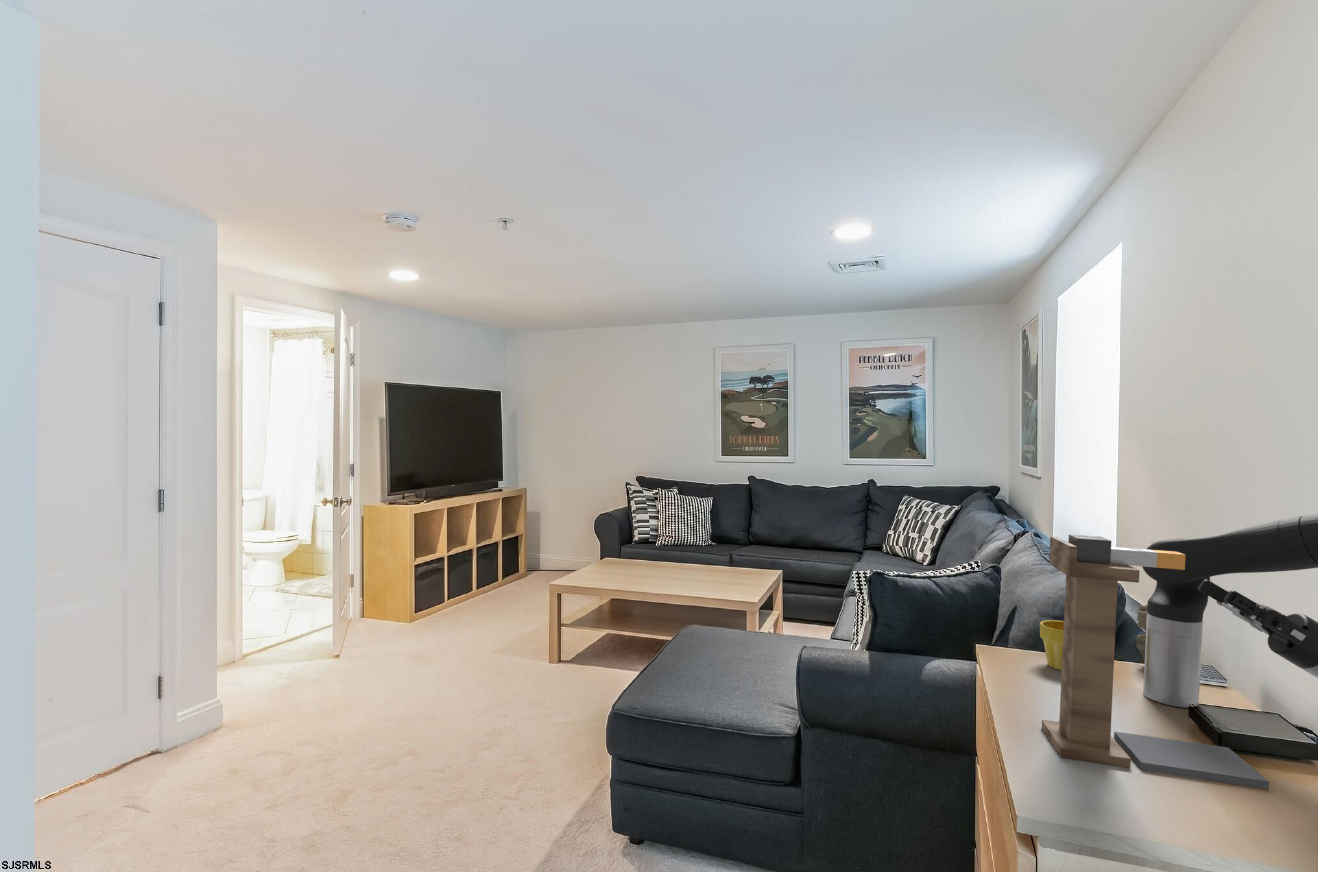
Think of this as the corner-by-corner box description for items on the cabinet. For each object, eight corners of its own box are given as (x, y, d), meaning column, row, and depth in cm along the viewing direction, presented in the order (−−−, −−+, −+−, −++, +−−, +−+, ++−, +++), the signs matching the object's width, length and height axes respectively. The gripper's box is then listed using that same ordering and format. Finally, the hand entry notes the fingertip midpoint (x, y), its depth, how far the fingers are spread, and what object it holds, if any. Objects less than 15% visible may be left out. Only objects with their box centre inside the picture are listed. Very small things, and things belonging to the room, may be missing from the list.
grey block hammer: (1067, 557, 120) (1068, 534, 120) (1173, 565, 116) (1174, 542, 116) (1076, 561, 115) (1077, 538, 115) (1187, 571, 111) (1188, 546, 111)
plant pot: (1031, 665, 159) (1033, 624, 159) (1046, 657, 166) (1048, 617, 166) (1081, 679, 151) (1083, 635, 151) (1095, 669, 159) (1097, 627, 158)
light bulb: (1168, 673, 158) (1171, 608, 158) (1141, 670, 159) (1144, 606, 159) (1155, 665, 163) (1158, 603, 163) (1130, 663, 164) (1132, 600, 164)
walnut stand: (1041, 727, 124) (1050, 536, 124) (1104, 736, 121) (1113, 540, 121) (1060, 757, 113) (1070, 546, 112) (1130, 768, 110) (1140, 551, 110)
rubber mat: (1113, 738, 121) (1114, 731, 121) (1227, 754, 116) (1228, 747, 116) (1141, 769, 110) (1141, 762, 110) (1268, 789, 105) (1269, 781, 105)
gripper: (1303, 619, 114) (1207, 562, 118) (1364, 643, 101) (1253, 579, 105) (1274, 654, 116) (1179, 597, 119) (1330, 683, 102) (1222, 618, 106)
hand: (1214, 589), depth 112 cm, fingers open, 8 cm apart
